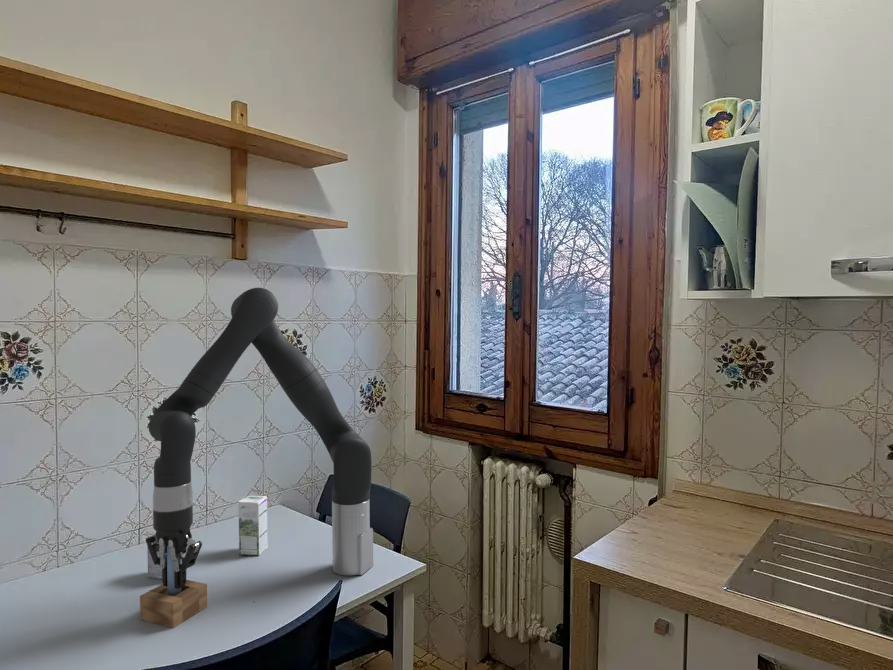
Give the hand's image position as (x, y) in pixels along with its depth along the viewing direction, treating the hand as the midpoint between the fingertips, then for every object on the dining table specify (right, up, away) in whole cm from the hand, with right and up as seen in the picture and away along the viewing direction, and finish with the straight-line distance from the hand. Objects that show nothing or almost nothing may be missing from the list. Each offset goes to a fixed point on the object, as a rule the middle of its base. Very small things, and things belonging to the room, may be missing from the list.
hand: (174, 585), depth 118 cm
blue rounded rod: (0, -3, 0) cm, 3 cm away
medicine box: (-10, -6, +18) cm, 22 cm away
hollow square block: (0, -6, 0) cm, 6 cm away
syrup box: (+6, -6, +32) cm, 33 cm away
